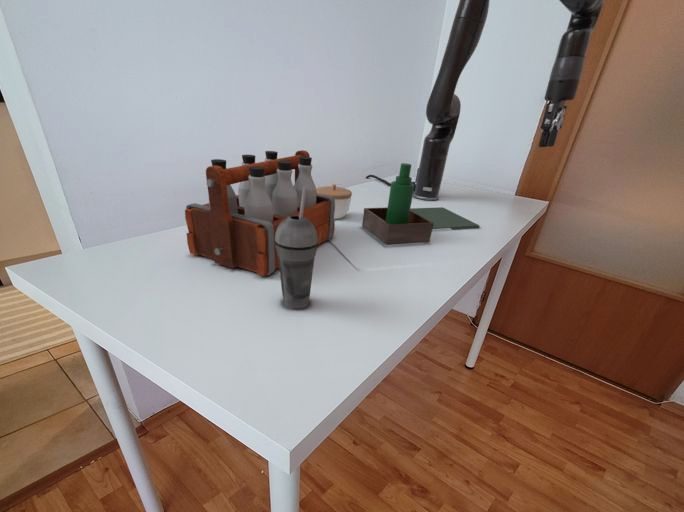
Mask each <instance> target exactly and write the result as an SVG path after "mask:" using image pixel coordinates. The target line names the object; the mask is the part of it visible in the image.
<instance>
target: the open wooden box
mask: <svg viewBox="0 0 684 512" xmlns="http://www.w3.org/2000/svg"><path fill="white" fill-rule="evenodd" d="M387 208H388V206H387V207H364V208H363V215H362V223H361V227H362V228H363V229H365V230H366V231H367V232H369V233H370V234H371V235H373V236H374V237H375V238H376V239H377V240H379V241H380V242H381V243H382V244H384V245H385V246H394V245H405V244H407V245H408V244H421V243H430V240H431V237H432V232H433V229H432V228H433V224H434V223H432V222H431V221H429V220H427V219H425V218H424V217H422V216H420V215H418V214H417V213H415V212H413V211H411V210H410V213H409V218H408V223H407V224H391V225H390V224H388V223H387V222H385V221H386V215H387Z"/></svg>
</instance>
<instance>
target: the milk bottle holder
mask: <svg viewBox="0 0 684 512" xmlns="http://www.w3.org/2000/svg"><path fill="white" fill-rule="evenodd" d="M264 152H265V153H264V154H265V158H264V161H259V162H256V155H254V154H242V155H241V158H242V159H241V160H242V162H241V165H239V166H233V167H227V160H226V159H222V158H221V159H220V158H215V159H214V158H213V159H211V160H210V163H211V165H209V166H207V167H206V169H205V178H206V186H207V193H208V202H207V203H204V204H199V203H195V202H194V203H190V204H187V205H186V206H185V209H184V215H185V216H184V218H185V222H186V227H187V233H186V243H187V247H188V251H189V254H191V255H194V256H196V255H199V256H203V257H206V258H208V259H213V261H214V263H215V264H217V265H222V266H224V267H227V268H231V269H234V268H237V267H238V268H241V269H245V270H248V271H251V272H254V273H256V274H257V275H258V276H261V277H265V276H270V275H271V274H273V273H274V272H275V270H277V269H280V268H279V259H278V254H277V250H276V244H275V242H274V240H275V234H276V231H277V228H278V226H279V225H280V223H281V222H282V221H283V220H284V219H286V218H287V217H290V216H294V215H297V216H299V215H300V207H301V200H302V192H303V187H306V195H305V203H304V210H303V217H305V218H306V219H308V220H309V221H310V222H311V223H312V224H313V226H314V228H315V230H316V232H317V237H318V246H319V245H320V244H322V243H324V242H327V241H330V240H332V239H333V237H334V235H335V229H336V226H335V220H336V219H334V211H335V200H334V198H333V197H331V196H326V195H321V194H317V192H316V189H317V187H316V184H315V182H314V180H313V177H312V170H313V165H312V161H313V158H312V157H311V156H310V153H309V152H308V150H297V151H295V154H294V155H291V156H286V157H285V156H284V157H280V158H278V151H273V150H266V151H264ZM293 170H294V184H293V182H292V174H293ZM235 184H238V187H237V193H238V194H236V192H235V190H234V188H233V187H232V185H235Z"/></svg>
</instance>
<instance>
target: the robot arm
mask: <svg viewBox="0 0 684 512" xmlns="http://www.w3.org/2000/svg"><path fill="white" fill-rule="evenodd" d="M558 1H559V2H560V3H561V4H562V5H563V6H564V8H565V9H566V10H568V11H569V13H570V17H569V18H570V19H569V21H568V25H567V28H566V31H565V32H564V33H563V34H562V35H561V37H560V39H559V43H558V47H557V51H556V56H555V59H554V62H553V65H552V68H551V70H550V74H549V79H548V82H547V87H546V90H545V95H544V101H546V102H550V103H547V104H546V105H545V110H544V114H543V117H542V121H541V125H540V130H541V136H540V138H539V143H538V147H539V148H547V147H548V148H549V147H551V148H552V147H554V146H555V144H556V140H557V136H558V133H559V132H560V131H561V129H562V127H563V123H564V119H565V117H566V111H567V108H568V105H565V103H566V102H567V101H573V100H574V99H575V98H576V96H577V95H576V94H577V91H578V88H579V84H580V80H581V77H582V73H583V70H584V66H585V65H584V64H585V59H586V56H587V53H588V49H589V45H590V42H591V37H592V34H593V31H594V29H595V27H596V25H597V22H598V20H599V17H600V16H601V12H602V10H603V6H604V2H605V0H558ZM489 7H490V0H459V2H458V5H457V8H456V12H455V15H454V18H453V21H452V25H451V29H450V32H449V36H448V39H447V43H446V46H445V50H444V53H443V56H442V60H441V64H440V67H439V70H438V73H437V76H436V79H435V81H434V84H433V87H432V89H431V91H430V95H429V97H428V100H427V104H426V108H425V117H426V119H427V122H428V123H429V124H431V129H430V131H429V132H428V133H427V135H425V137H424V139H423V145H422V150H421V153H420V159H419V160H420V161H419V165H418V167H417V170H416V176H415V181H411V183H413V184H414V185H415V186H414V191H413V196H412V197H414V198H416V199H419V200H423V201H437V200H438V199H439V194H440V191H441V185H442V181H443V176H444V173H445V169H446V163H447V160H448V155H449V150H450V145H451V143H452V141H453V139H454V138H455V133H456V131H457V128H458V127H457V126H458V123H459V118H460V114H461V109H462V107H461V100H460V98H459V96H458V95H457V94H455V91H456V88H457V85H458V83H459V79H460V77H461V74H462V72H463V71H464V69H465V67H466V66H467V64H468V63H469V61H470V59H471V58H472V56H473V54H474V53H475V51H476V49H477V47H478V45H479V43H480V40H481V37H482V34H483V31H484V28H485V25H486V21H487V18H488V15H489ZM370 178H374V179H376V180H378V181H380V182H383V183H385V184H386V185H388V186H389V187H391V182H389V181H387V180H385V179H384V178H380V177H378V176H377V175H375V174H369V175H366V176H365V179H370Z"/></svg>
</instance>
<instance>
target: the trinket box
mask: <svg viewBox="0 0 684 512" xmlns="http://www.w3.org/2000/svg"><path fill="white" fill-rule="evenodd" d="M316 192H317V194H321V195H326V196H331V197H333V198H334V200H335V211H334V220H340V219H342V218H344V217H345V216H346V215H347V213H348V212H349V210H350V206H351V201H352V196H353V192H352V190H350V189H348V188H345V187H341V186H337V184H332V185H331V186H320V187H319V186H318V187H316Z"/></svg>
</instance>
